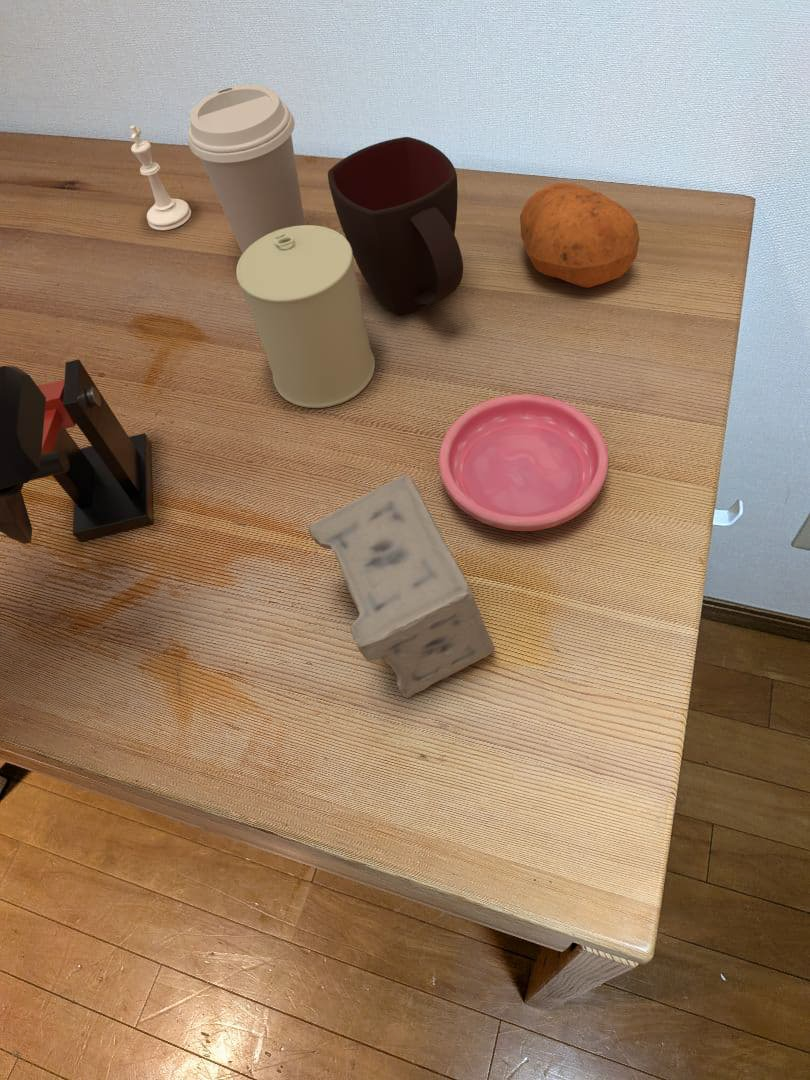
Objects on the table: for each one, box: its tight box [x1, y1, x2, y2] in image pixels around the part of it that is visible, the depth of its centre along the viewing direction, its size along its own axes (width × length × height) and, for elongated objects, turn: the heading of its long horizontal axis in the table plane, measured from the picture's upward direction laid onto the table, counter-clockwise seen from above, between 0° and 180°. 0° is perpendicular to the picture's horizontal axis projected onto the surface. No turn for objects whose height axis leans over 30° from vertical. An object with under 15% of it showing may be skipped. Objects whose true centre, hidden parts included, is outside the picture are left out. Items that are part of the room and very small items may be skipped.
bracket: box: [52, 358, 154, 542], centre depth 57 cm, size 9×6×12 cm, turn 12°
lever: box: [29, 378, 77, 482], centre depth 50 cm, size 10×4×2 cm, turn 12°
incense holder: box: [308, 474, 496, 699], centre depth 47 cm, size 10×8×10 cm
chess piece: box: [129, 125, 192, 231], centre depth 79 cm, size 5×5×10 cm
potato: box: [519, 182, 640, 288], centre depth 67 cm, size 9×11×8 cm
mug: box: [327, 136, 464, 316], centre depth 65 cm, size 10×14×12 cm
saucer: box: [438, 393, 609, 532], centre depth 56 cm, size 12×12×3 cm
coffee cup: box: [187, 84, 306, 254], centre depth 70 cm, size 10×10×15 cm
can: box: [235, 224, 376, 409], centre depth 61 cm, size 9×9×12 cm
